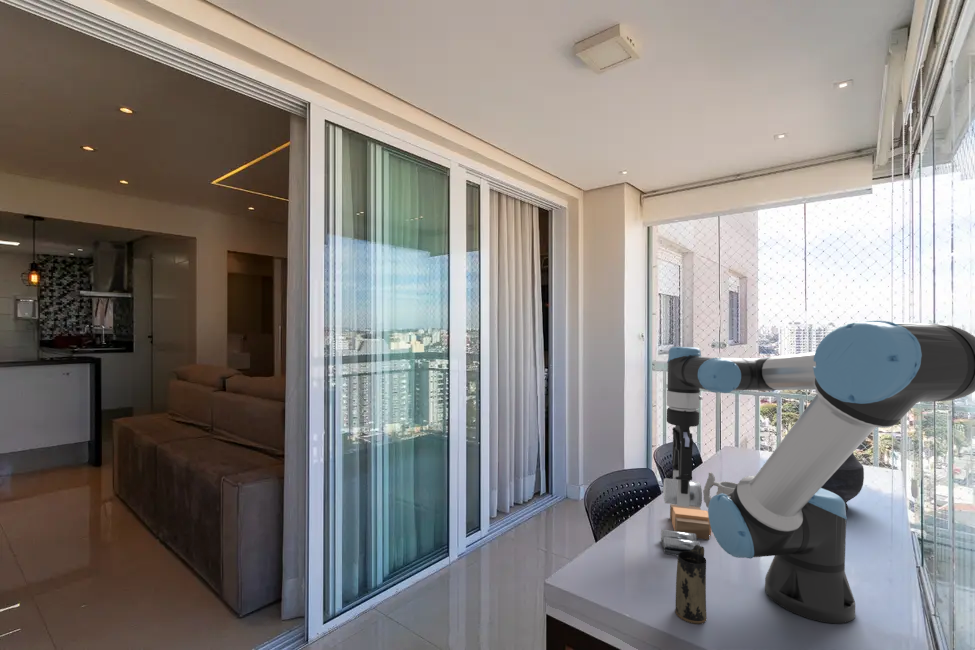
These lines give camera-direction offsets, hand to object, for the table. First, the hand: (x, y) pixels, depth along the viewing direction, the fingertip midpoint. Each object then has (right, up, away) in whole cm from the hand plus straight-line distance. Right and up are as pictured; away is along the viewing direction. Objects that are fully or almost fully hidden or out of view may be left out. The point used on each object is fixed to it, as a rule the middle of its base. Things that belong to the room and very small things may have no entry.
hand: (680, 500), depth 115 cm
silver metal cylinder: (0, -1, 0) cm, 1 cm away
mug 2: (-9, -12, -26) cm, 30 cm away
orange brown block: (+8, -13, +12) cm, 19 cm away
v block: (0, -12, 0) cm, 12 cm away
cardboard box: (+7, -12, +12) cm, 19 cm away
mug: (+21, -13, +21) cm, 33 cm away
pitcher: (+62, -14, +34) cm, 72 cm away
